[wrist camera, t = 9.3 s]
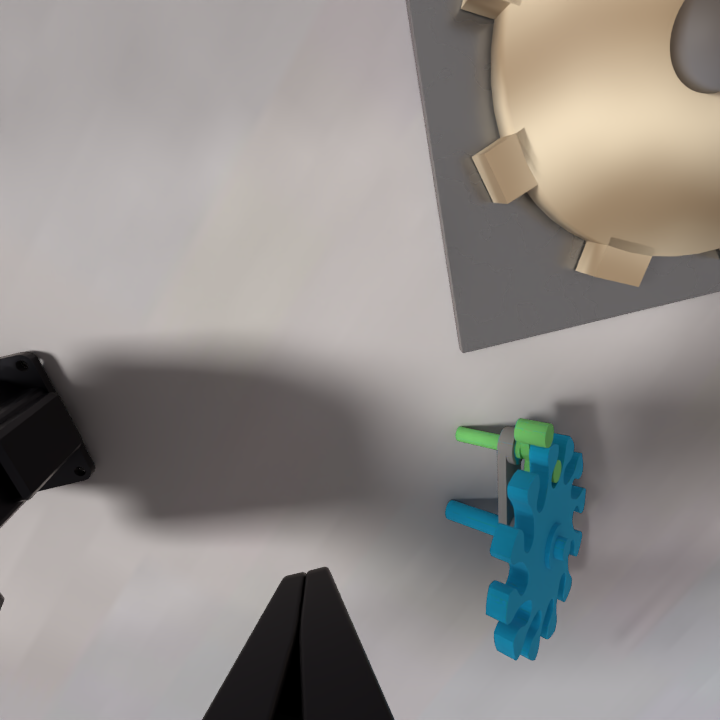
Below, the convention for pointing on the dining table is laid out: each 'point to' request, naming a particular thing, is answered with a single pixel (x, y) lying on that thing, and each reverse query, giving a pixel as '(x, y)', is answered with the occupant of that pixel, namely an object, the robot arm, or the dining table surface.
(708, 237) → the turntable
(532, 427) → the gear
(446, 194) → the bearing plate
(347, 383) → the dining table surface
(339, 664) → the robot arm
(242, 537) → the dining table surface
